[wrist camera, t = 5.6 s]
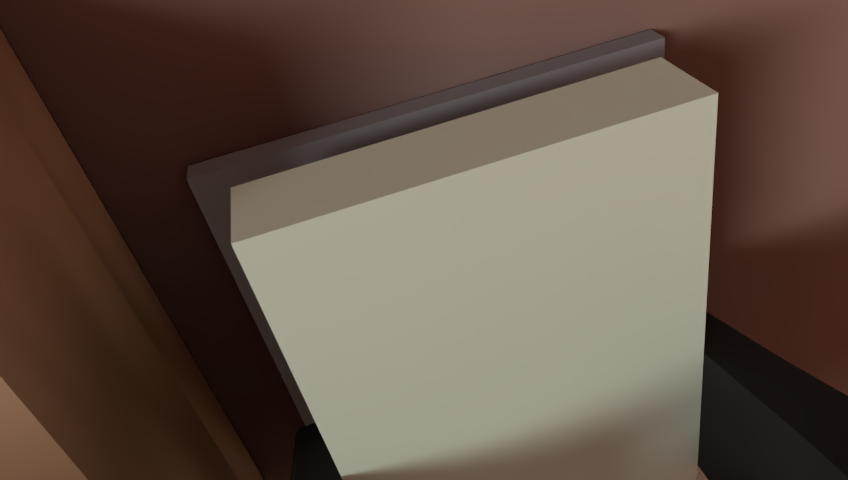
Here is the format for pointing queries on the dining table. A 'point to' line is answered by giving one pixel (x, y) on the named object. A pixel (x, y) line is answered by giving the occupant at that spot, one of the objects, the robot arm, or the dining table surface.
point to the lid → (501, 286)
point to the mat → (381, 125)
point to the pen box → (88, 329)
